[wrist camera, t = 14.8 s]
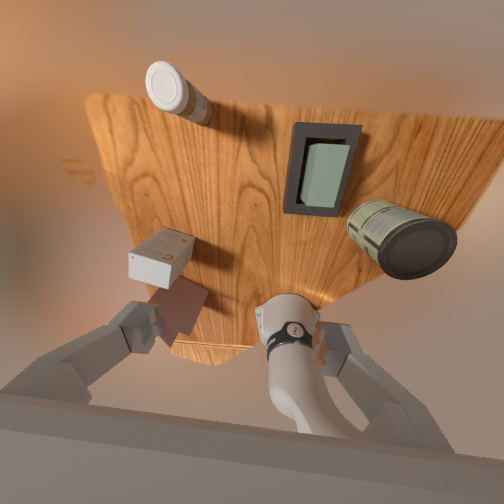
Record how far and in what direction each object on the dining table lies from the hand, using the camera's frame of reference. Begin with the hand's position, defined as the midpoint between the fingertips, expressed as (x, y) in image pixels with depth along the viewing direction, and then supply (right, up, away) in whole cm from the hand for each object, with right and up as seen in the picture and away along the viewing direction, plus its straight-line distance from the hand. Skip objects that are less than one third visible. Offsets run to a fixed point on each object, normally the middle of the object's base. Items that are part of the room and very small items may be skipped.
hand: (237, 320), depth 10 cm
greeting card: (-16, -6, +43) cm, 46 cm away
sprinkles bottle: (-8, +29, +24) cm, 38 cm away
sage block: (+13, +19, +27) cm, 35 cm away
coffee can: (+27, +10, +31) cm, 42 cm away
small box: (-18, +6, +37) cm, 41 cm away
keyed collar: (+13, +19, +27) cm, 35 cm away
